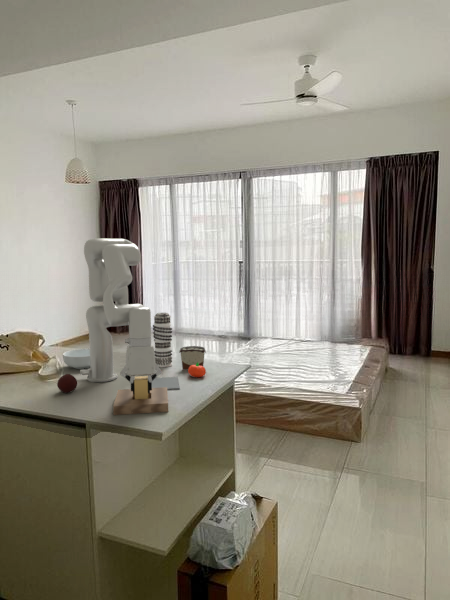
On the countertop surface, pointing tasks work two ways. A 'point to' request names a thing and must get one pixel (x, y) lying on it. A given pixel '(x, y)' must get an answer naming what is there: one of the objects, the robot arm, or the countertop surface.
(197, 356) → the food container
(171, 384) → the grey mat
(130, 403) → the walnut cradle
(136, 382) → the ochre block
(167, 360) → the decorative candle
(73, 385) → the dark maroon ball
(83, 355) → the cereal bowl
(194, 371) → the pumpkin
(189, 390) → the countertop surface
